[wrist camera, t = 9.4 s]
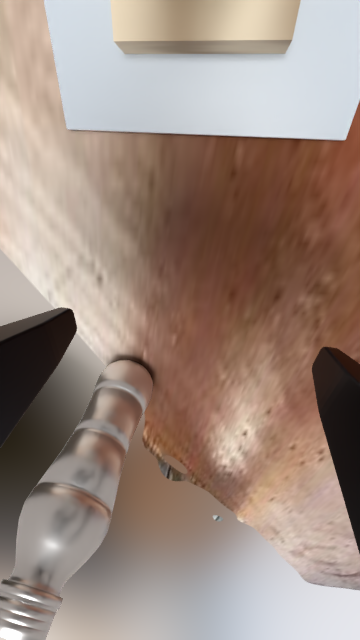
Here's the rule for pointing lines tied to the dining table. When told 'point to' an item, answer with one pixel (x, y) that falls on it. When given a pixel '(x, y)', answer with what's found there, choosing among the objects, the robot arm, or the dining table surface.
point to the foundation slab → (204, 26)
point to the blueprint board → (210, 79)
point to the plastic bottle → (72, 503)
